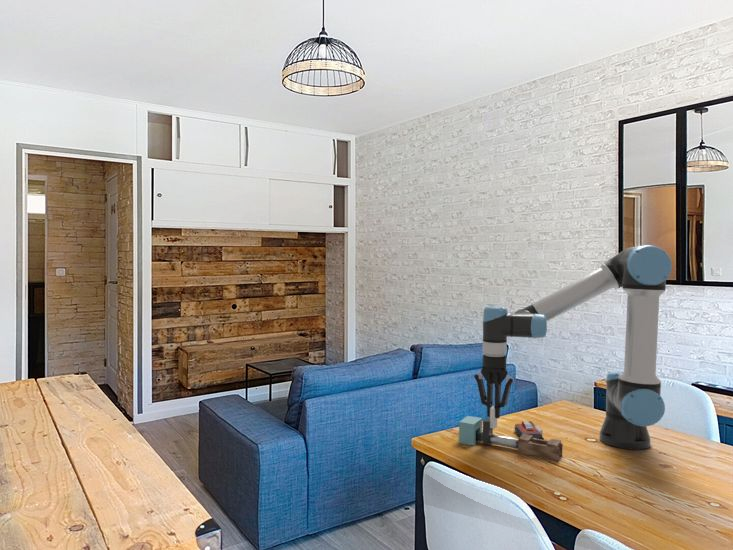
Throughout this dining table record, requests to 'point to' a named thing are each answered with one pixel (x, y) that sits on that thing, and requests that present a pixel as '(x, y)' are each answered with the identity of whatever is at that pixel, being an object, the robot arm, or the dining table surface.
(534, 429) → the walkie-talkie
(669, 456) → the dining table surface
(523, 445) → the sleeve
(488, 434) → the rod
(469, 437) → the socket
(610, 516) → the dining table surface
